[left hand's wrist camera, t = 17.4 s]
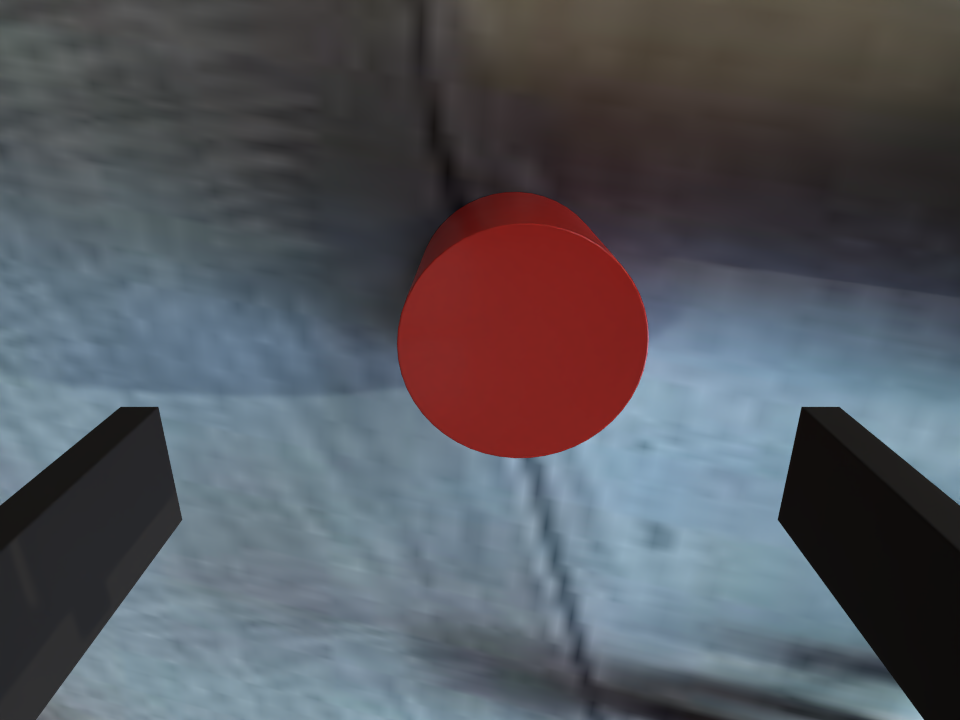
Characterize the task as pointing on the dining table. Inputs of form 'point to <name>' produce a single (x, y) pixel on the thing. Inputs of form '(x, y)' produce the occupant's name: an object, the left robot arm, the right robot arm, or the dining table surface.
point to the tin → (520, 329)
